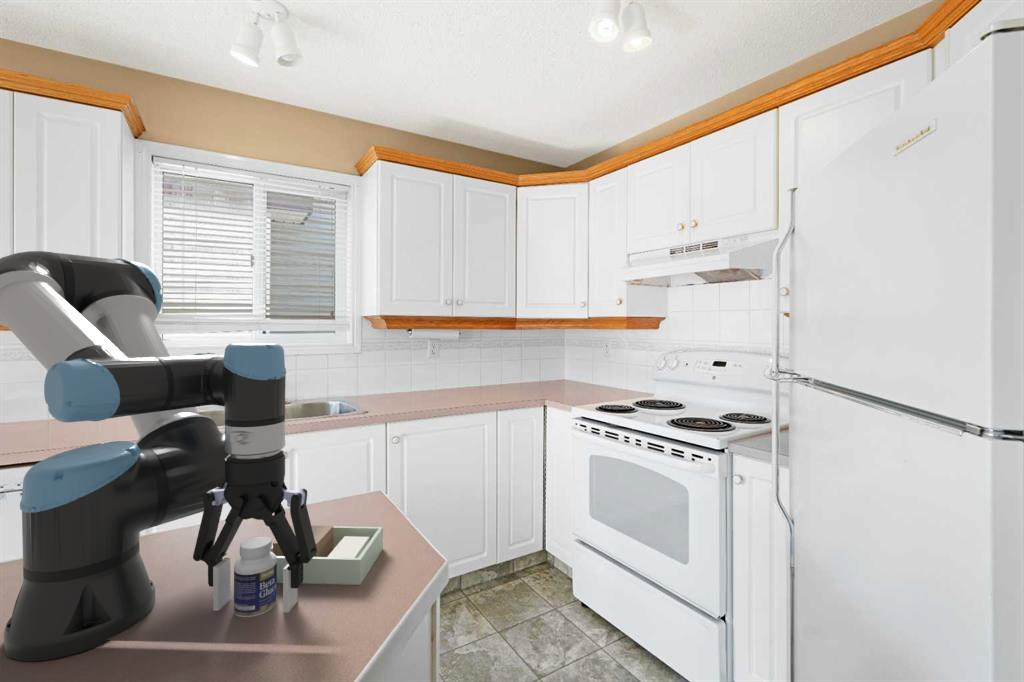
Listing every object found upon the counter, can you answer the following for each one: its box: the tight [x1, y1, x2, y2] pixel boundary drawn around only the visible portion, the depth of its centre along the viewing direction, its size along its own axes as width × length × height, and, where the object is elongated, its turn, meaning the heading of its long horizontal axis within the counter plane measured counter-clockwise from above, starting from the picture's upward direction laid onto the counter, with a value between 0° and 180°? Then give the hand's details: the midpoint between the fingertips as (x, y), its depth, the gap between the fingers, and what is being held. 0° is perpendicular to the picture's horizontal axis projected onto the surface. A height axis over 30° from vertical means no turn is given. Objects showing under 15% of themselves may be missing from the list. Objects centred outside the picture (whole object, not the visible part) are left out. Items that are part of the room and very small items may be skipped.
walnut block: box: [272, 525, 334, 557], centre depth 80 cm, size 7×7×5 cm
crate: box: [271, 525, 384, 586], centre depth 80 cm, size 16×12×4 cm
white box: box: [328, 536, 369, 558], centre depth 80 cm, size 4×8×3 cm, turn 179°
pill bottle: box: [233, 536, 278, 618], centre depth 68 cm, size 5×5×10 cm
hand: (256, 608), depth 68 cm, fingers open, 9 cm apart
